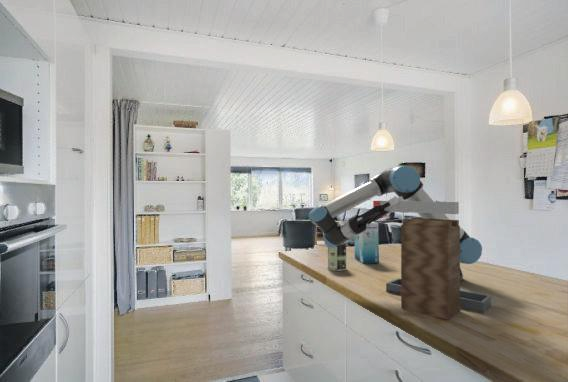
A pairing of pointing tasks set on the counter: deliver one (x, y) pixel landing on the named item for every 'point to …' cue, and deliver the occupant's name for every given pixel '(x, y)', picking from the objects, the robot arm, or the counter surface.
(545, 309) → the counter surface
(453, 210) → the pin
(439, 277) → the post
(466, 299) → the tray
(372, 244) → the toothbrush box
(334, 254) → the coffee can
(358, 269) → the counter surface
